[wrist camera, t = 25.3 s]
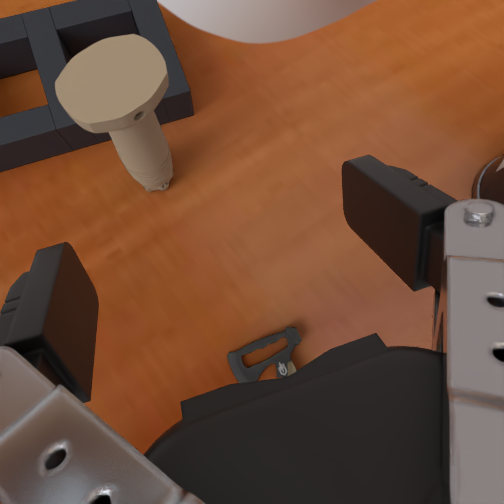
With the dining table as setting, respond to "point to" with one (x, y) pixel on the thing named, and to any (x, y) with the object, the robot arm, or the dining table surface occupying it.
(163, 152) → the handle
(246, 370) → the tomahawk
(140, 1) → the tool holder
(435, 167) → the dining table surface
